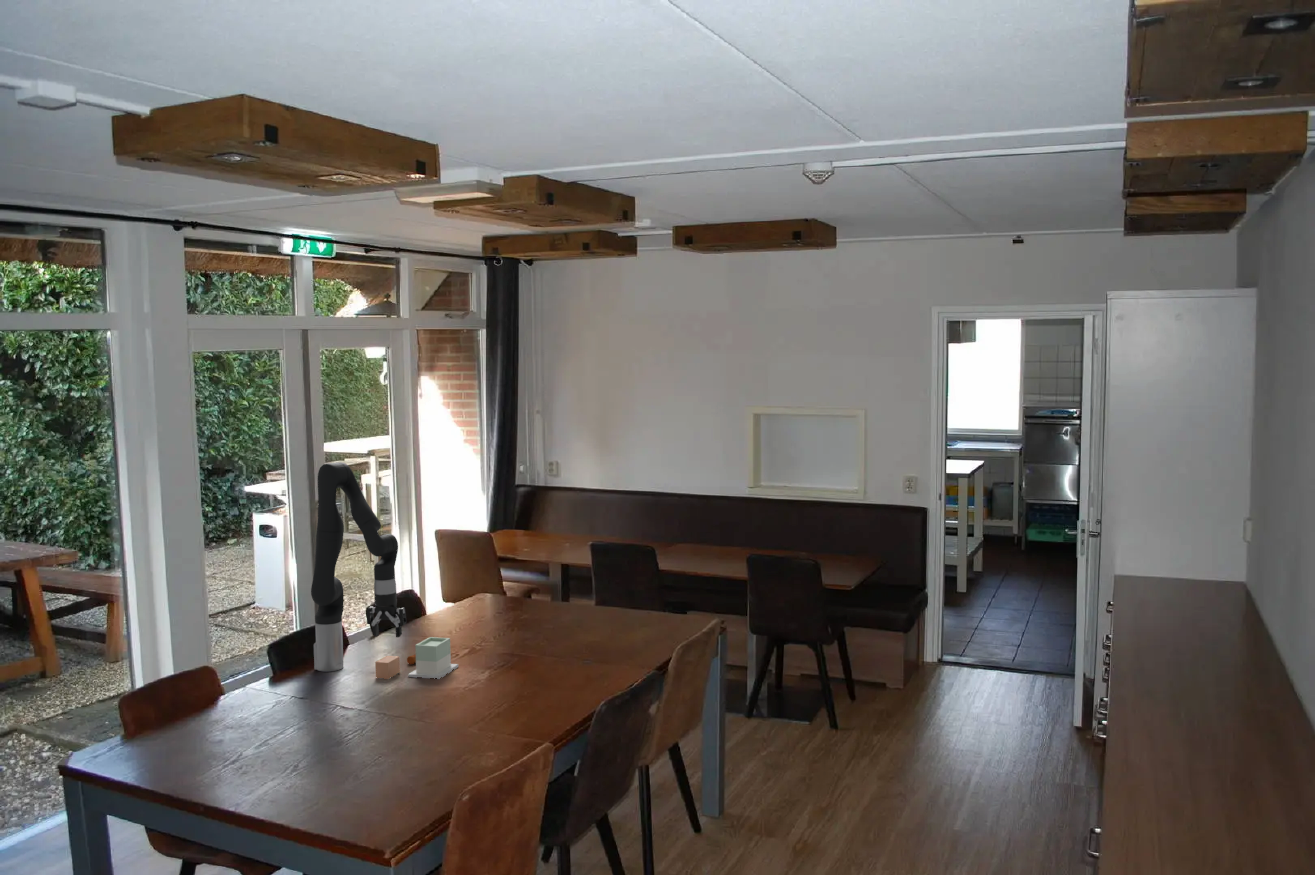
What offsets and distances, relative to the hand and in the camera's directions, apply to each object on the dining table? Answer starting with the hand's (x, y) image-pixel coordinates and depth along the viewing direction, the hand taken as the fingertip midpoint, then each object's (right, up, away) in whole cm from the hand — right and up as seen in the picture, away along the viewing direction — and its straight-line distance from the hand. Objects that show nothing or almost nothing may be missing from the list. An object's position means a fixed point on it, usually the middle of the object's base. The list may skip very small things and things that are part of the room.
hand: (387, 636), depth 371 cm
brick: (0, -14, +1) cm, 14 cm away
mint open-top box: (+15, -14, +5) cm, 21 cm away
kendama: (+9, -13, +23) cm, 28 cm away
